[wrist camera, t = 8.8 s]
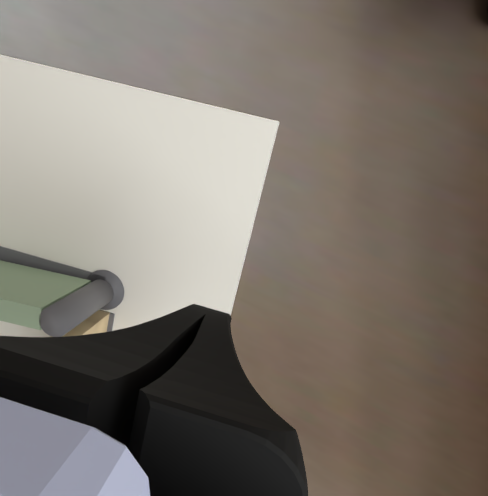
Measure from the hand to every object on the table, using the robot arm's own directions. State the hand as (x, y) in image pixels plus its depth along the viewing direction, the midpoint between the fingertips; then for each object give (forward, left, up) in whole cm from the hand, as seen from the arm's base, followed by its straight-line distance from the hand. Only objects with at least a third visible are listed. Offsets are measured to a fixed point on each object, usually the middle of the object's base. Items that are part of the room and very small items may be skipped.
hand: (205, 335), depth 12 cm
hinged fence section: (-4, +14, -9) cm, 17 cm away
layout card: (-3, +10, -9) cm, 14 cm away
